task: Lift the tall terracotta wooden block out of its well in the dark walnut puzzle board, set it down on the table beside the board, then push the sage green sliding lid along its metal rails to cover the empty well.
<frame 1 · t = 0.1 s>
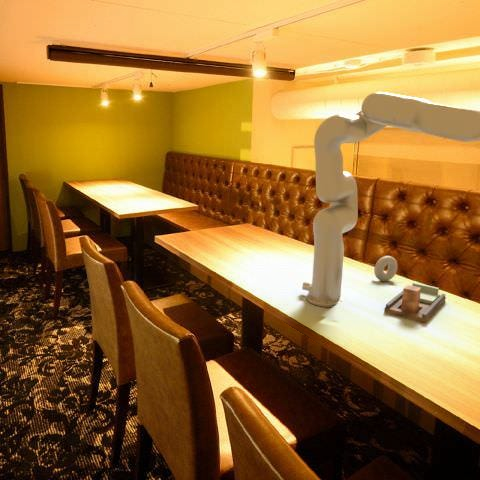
block: (409, 312, 134), point 1 cm above the table, touching puzzle board
donut: (384, 281, 166), on the table
lid: (421, 292, 142), point 5 cm above the table, slide at 0.0 cm
puzzle board: (415, 310, 139), on the table
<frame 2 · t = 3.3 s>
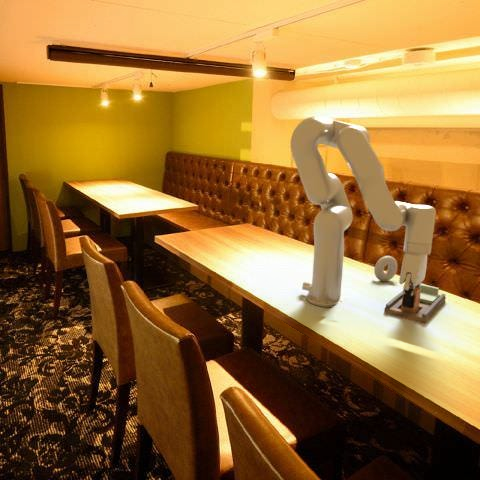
hand: (410, 304, 134), 4 cm above the table, tool pointing down, fingers closed on block, 3 cm apart
block: (409, 312, 134), point 2 cm above the table, touching gripper
everything else where it was.
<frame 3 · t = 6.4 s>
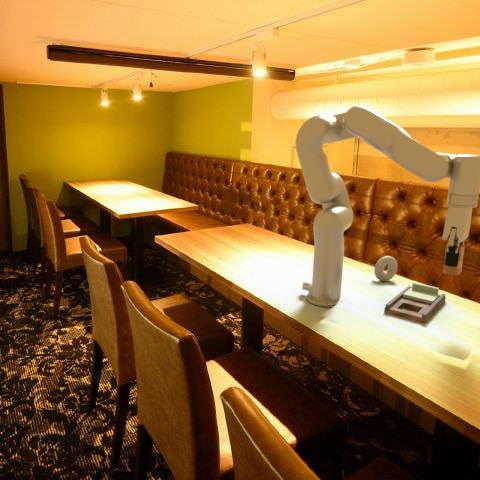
hand: (453, 263, 124), 19 cm above the table, tool pointing down, fingers closed on block, 4 cm apart
block: (452, 272, 125), point 16 cm above the table, touching gripper
everything else where it was.
when the fingers open (4 cm above the table, at t = 9.4 s): block drops 2 cm, on the table.
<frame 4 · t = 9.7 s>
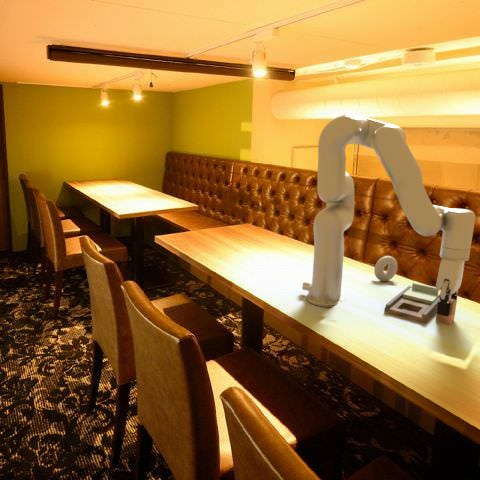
hand: (446, 310, 128), 5 cm above the table, tool pointing down, fingers open, 6 cm apart
block: (444, 325, 129), on the table
everything else where it was.
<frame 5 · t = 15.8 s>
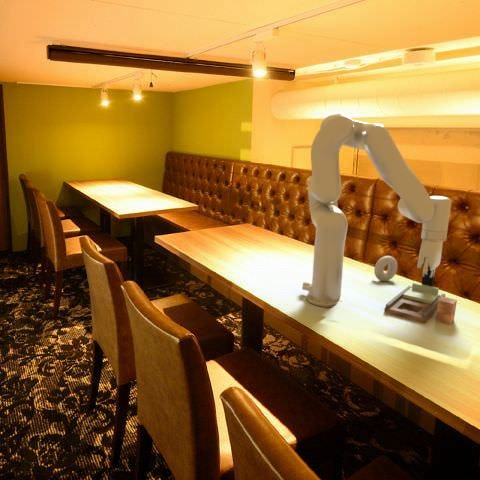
hand: (426, 287, 146), 5 cm above the table, tool pointing down, fingers closed
lid: (421, 292, 142), point 5 cm above the table, slide at 0.1 cm, touching gripper
everything else where it was.
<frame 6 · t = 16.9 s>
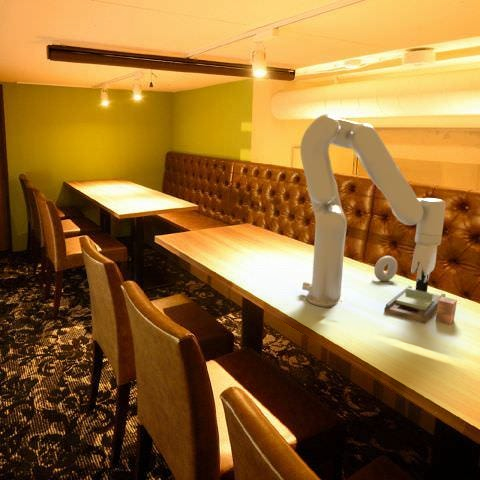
hand: (420, 292, 141), 5 cm above the table, tool pointing down, fingers closed
lid: (415, 298, 137), point 5 cm above the table, slide at 6.5 cm, touching gripper
everything else where it was.
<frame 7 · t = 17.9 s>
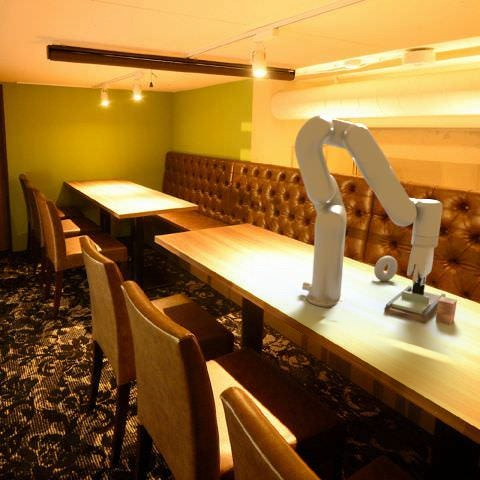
hand: (417, 296, 138), 5 cm above the table, tool pointing down, fingers closed
lid: (411, 301, 134), point 5 cm above the table, slide at 10.0 cm, touching gripper
everything else where it was.
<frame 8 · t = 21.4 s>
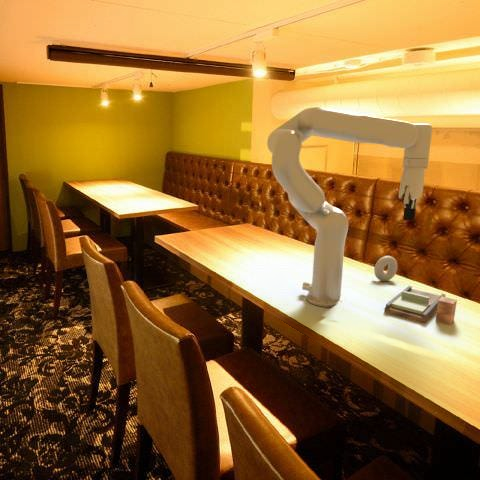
hand: (408, 219, 144), 27 cm above the table, tool pointing down, fingers closed
lid: (411, 301, 134), point 5 cm above the table, slide at 10.2 cm
everything else where it was.
at the end: block 0.0 cm from the target spot, on the table; block tilted 0°; lid slide at 10.2 cm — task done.
